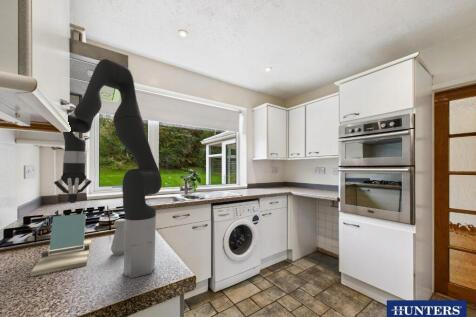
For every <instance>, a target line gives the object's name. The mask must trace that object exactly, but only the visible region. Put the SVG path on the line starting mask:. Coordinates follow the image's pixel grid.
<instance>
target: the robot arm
mask: <svg viewBox="0 0 476 317" xmlns="http://www.w3.org/2000/svg"><path fill="white" fill-rule="evenodd" d="M104 87H108V88H111V89H114V90H117V91H118V92H119V94H120V104H119V105H118V107H117V109H116V110H115V112H114V116H113V125H114V129H115V133H116V136H117V138H118V140H119V141H120V143H121V144H122V146H123V147H125V149H126V150H127V151H128V152H129V153H130V154H131V156H132V157H133V158H134V160H135V163H136V164H137V167H138V168H130V169H128V170H127V171H126V172H125V174H124V175H123V180H122V206H123V207H122V208H123V211H124V219H125V236H124V254H123V275H124V276H125V277H128V278H129V279H133V278H138V277H141V276H145V275H149V274H152V273H153V270H155V262H156V228H157V227H156V226H157V225H156V224H157V220H156V219H157V215H156V214H157V209H156V207H155V206H153V205H151V204H150V205H149V204H148V203H146V197H147V196H152V195H155V194H157V193H159V192H160V190H161V189H162V185H163V183H162V182H163V181H162V180H163V179H162V176H161V172H160V169H159V168H158V165H157V162H156V160H155V157H154V155H153V152H152V148H151V146H150V142H149V140H148V135H147V132H146V128H145V124H144V121H143V117H142V114H141V112H140V107H139V103H138V99H137V93H136V86H135V80H134V76H133V73H132V71H131V69H130V68H128V67H127V66H125V65H123V64H120V63H118V62H115V61H114V60H110V59H107V58H103V59H101V60H100V61H98V63H97V64H96V66H95V68H94V70H93V72H92V75H91V76H90V79H89V82H88V85H87V87H86V89H85V92H84V94H83V96H82V98H81V99H80V101H79V102H78V104H77V105H76V106H75V108H74V110H73V114H74V115H73V114H67V115H68V122H69V125H70V127H71V131H70V132H62V134H63V139H64V152H63V159H62V160H63V161H62V175H61V176H60V179H58V180H56V181H54V182H53V184H54V185H55V186H56V187H57V188H58V189H60V191H61V192H62V193H64V194H67V195H68V202H69V203H70V204H75V203H76V202H77V201H78V194H80V193H82V192H83V191H84V190H86V188H87V187H88V186H89V185H90V184H92V180H90V179H89V178H87V175H86V163H87V159H86V158H87V157H86V143H87V142H86V140H85V139H83V138H81V137H78V136H76V135H75V134H74V133H79V134H87V133H88V132H90V131H91V130H92V129H91V128H92V125H93V121H94V120H95V117H96V116H97V114H98V113H99V112H100V111H101V108H102V98H101V93H100V92H101V89H102V88H104ZM83 182H84V185H82V187H81V188H80V189H79V186H80V185H81V184H83ZM63 183H64V184H65V185H66V186H67V187H68V189H67V188H66V187H65V186H64V185H63Z"/></svg>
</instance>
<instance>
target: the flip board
mask: <svg viewBox="0 0 476 317" xmlns="http://www.w3.org/2000/svg"><path fill="white" fill-rule="evenodd" d="M92 242H93V238H86V239H84V245H81V246H84V248H83V249H78V250H72V251H66V252H60V253H54V254H49V251H55V250H49V248H50V245H49V246H48V247H47V249H46V250H43V251H42V252H41V257H40V259H39V260H38V261H37V263H36V264H34V267H33V268H32V269H31V270H30V272H29V277H34V276H38V275H44V274H48V273H49V274H50V273H54V272H59V271H64V270H68V269H73V268H78V267H83V266H84V267H85V266H87V264H88V260H89V255H90V251H91V247H92ZM75 247H80V246H75ZM69 248H73V247H69ZM62 249H67V248H62ZM56 250H61V249H56Z"/></svg>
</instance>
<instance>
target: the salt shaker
mask: <svg viewBox="0 0 476 317" xmlns="http://www.w3.org/2000/svg"><path fill="white" fill-rule="evenodd" d="M113 226H114V227H115V231H114V235H113V239H112V243H111V247H110V250H111V252H112V254H113V256H124V236H125V218H120V219H116V220H115V221H114V223H113Z"/></svg>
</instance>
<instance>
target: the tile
mask: <svg viewBox="0 0 476 317" xmlns="http://www.w3.org/2000/svg"><path fill="white" fill-rule="evenodd" d="M86 215H87V214H86V213H80V214H79V213H77V214H70V215H68V214H67V215H58V216H53V217H52V221H51V232H50V240H49V246H50V248H49V247H48V248H49V250H55V251H49V254H54V253H60V252H66V251H72V250H78V249H83V248H84V246H81V245H84V240H85V232H86V217H87V216H86ZM75 246H80V247H75ZM69 247H73V248H69ZM62 248H67V249H62ZM56 249H61V250H56Z"/></svg>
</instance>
